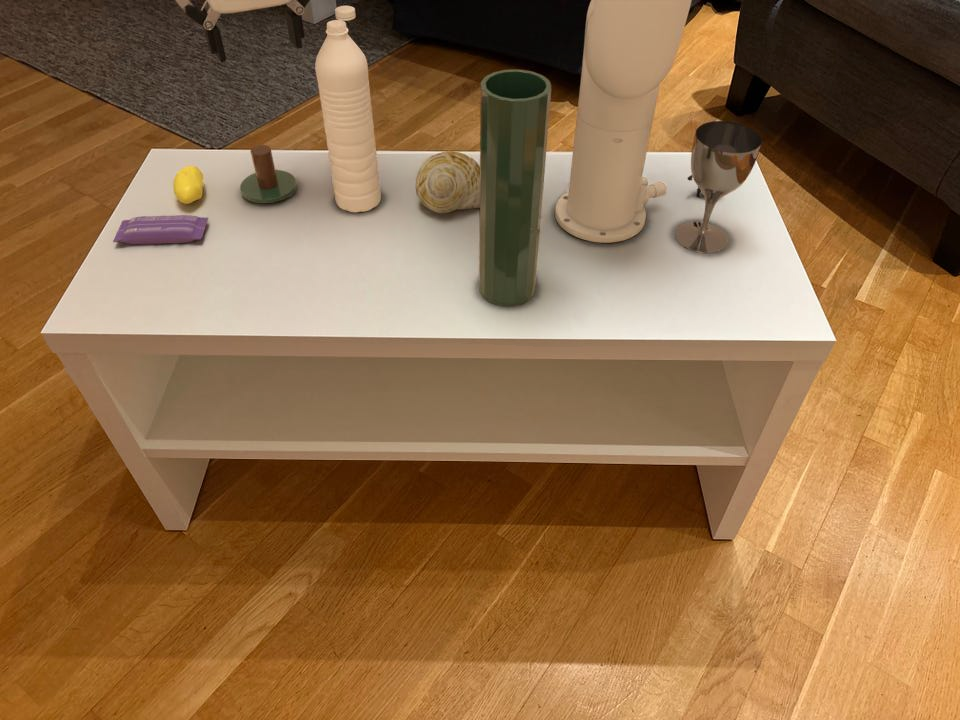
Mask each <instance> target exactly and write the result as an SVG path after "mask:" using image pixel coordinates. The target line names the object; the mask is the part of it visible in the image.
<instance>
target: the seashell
mask: <svg viewBox="0 0 960 720" xmlns="http://www.w3.org/2000/svg"><path fill="white" fill-rule="evenodd" d="M415 193H416V196H417V198H418V199H419V201H420V203H421V204H422V205H423V206H424V207H425V208H426V209H428V210H430V211H432V212H434V213H437V214H449V213H451V212H454V211H455V210H457V209H458V210H460V211H461V210H470V209H478V208H480V163H478V162H477V161H476V160H475V159H474V158H473V157H470V156H469V155H467V154H465V153H462V152H459V151H453V150H444V151H441V152H438V153H436V154H433V155H431V156H429V157H428V158H426V160H425V161H423V163H422V164H421V165H420V167H419V169H418V171H417V175H416V178H415Z"/></svg>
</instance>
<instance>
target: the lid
mask: <svg viewBox="0 0 960 720" xmlns="http://www.w3.org/2000/svg"><path fill="white" fill-rule="evenodd" d="M249 151H250V155H251V160H252V164H253V165H252V166H253V169H254V173H251V174H250V175H248V176H246V177H245V178H244V179H243V180H242V181H241V183H240V186H239V190H240V194H241V195H242V197H243V198H244V199H246V200H247V201H249V202H251V203H258V204H271V203H276V202H277V203H278V202H280V201H283V200H285V199H287V198H289V197H291V196H292V195H293V194H294V193H295V192H296V190H297V187H298V183H297V179H296V177H295V176H294V174H292V173H290V172H288V171H286V170H281V169H276V166H275V161H274V157H273V152H272V149H271V146H270V145H265V144H258V145H255V146H253V147H252V148H251V149H250V150H249Z"/></svg>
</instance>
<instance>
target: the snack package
mask: <svg viewBox="0 0 960 720" xmlns="http://www.w3.org/2000/svg"><path fill="white" fill-rule="evenodd" d="M208 220H209V217H204V216H203V217H201V216H198V215H191V214H189V215H188V214H179V215H150V216H149V215H146V216H145V215H143V216H142V215H141V216H135V217H131V218H130V219H123V220H122V221H121V222H120V225H119V227H118V230H117V232H116V234H115V236H114V237H113V238H114V239H113V240H112V243H125V244H130V245H152V244H153V245H154V244H155V245H156V244H157V245H158V244H185V243H191V242H194V241H196V240H202V239H203V235H204V233H205V230H206V227H207V224H208Z"/></svg>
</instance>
